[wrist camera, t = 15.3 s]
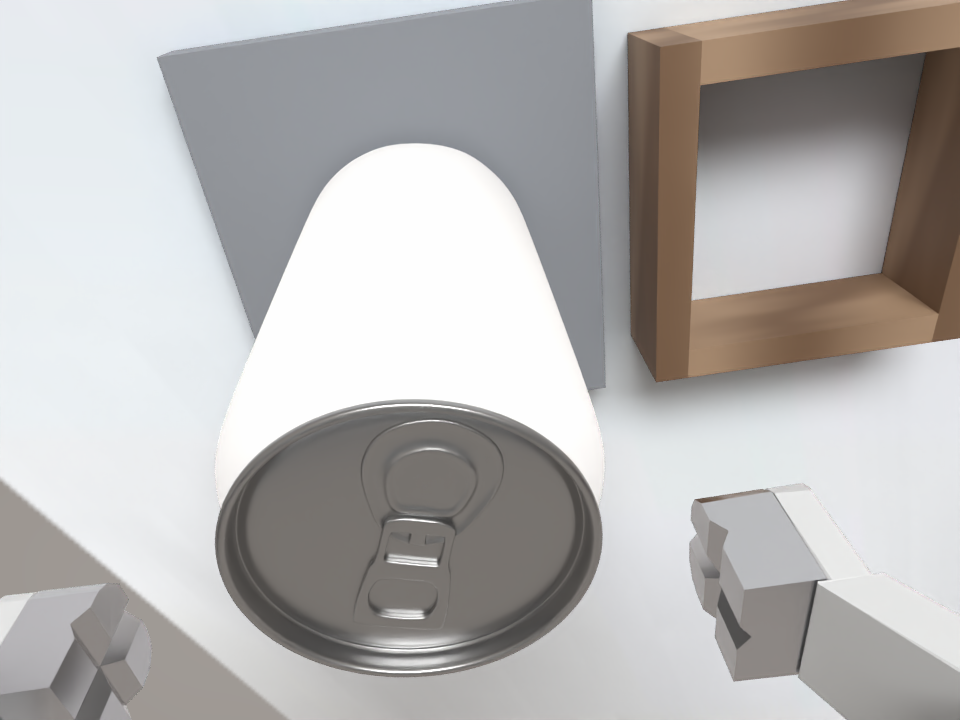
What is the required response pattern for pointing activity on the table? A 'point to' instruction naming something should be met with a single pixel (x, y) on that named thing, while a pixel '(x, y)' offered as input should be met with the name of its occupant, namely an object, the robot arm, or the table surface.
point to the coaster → (404, 133)
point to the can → (410, 431)
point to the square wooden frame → (809, 307)
